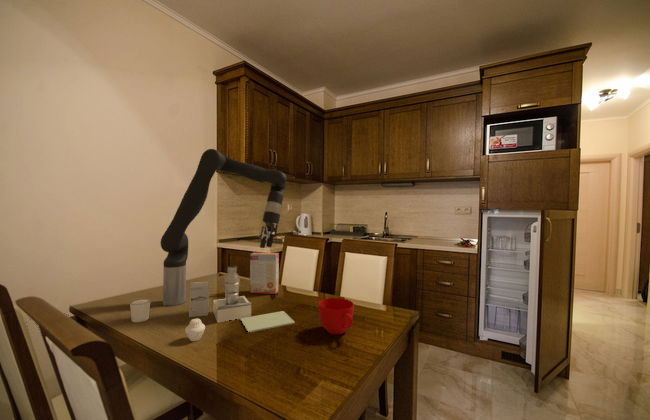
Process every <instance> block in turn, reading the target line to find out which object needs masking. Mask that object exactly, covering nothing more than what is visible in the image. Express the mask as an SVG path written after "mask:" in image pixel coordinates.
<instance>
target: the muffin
mask: <svg viewBox="0 0 650 420" xmlns="http://www.w3.org/2000/svg"><path fill="white" fill-rule="evenodd" d="M205 329H206V325H205V324H204V323H203V322H202V320H201V319H200V318H196V317H195V318H193V319H191V320H190V321H189V324H188V325H187V326H186V328H185V329H184V330H185V333H186V336H187V338H188V340H189V341H191V342H197V341H200V340H201V338H202V336H203V334H204V333H205Z"/></svg>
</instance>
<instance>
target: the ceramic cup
mask: <svg viewBox="0 0 650 420" xmlns="http://www.w3.org/2000/svg"><path fill="white" fill-rule="evenodd" d="M354 311H355V305H354V302H353V301H352V300H350V299H346V298H339V297H329V298H324V299H322V300H320V301H319V302H318V315H319V320H320V323H321V325H322V326H323V327H324V329H325V330H326V332H327V333H329V334H331V335H342V334H344V333H345V332H346V331H347V329H349V328H352V326H353V323H354V320H353V319H354V318H353V317H354Z"/></svg>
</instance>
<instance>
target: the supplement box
mask: <svg viewBox="0 0 650 420" xmlns="http://www.w3.org/2000/svg"><path fill="white" fill-rule="evenodd" d="M189 285H190V286H189V296H188V297H189V300H188V301H189V303H188V304H189V306H188V307H189V308H188V318H189V319H190V318H196V317H204V316H208V315H209V294H210V293H209V292H210V291H209V290H210V281H199V282H198V281H197V282H195V281H194V282H190V284H189Z"/></svg>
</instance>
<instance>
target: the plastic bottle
mask: <svg viewBox="0 0 650 420" xmlns="http://www.w3.org/2000/svg"><path fill="white" fill-rule="evenodd" d="M237 271H238V266H237V265H230V266H227V270H226V272H227V273H226V275H225V276H224V278H223V283H224V296H225V297H224V299H225V304H224V306H228V305H235V304H239V297H240V296H239V295H240V294H239V291H240V282H241V278H240V275H239V274H238V272H237Z"/></svg>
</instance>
